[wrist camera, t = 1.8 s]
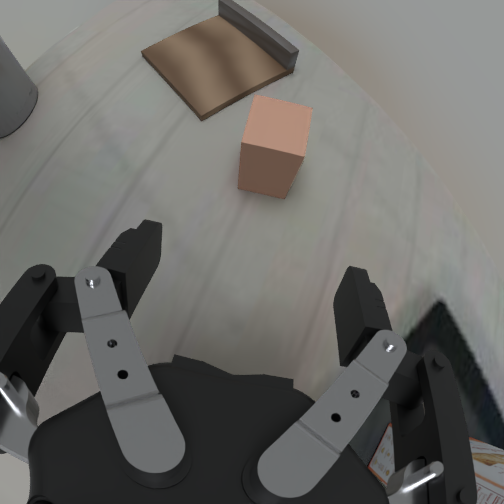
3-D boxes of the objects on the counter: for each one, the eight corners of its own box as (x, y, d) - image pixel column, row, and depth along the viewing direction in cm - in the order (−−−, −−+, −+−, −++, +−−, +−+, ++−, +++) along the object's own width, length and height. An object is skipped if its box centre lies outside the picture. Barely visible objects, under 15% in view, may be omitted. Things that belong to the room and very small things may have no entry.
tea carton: (237, 188, 31) (241, 142, 22) (248, 148, 32) (254, 94, 23) (286, 199, 31) (307, 157, 22) (294, 159, 32) (315, 108, 23)
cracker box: (470, 433, 27) (596, 476, 7) (450, 475, 26) (561, 536, 6) (388, 417, 27) (538, 497, 7) (364, 467, 26) (481, 577, 6)
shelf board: (201, 121, 32) (199, 98, 28) (142, 56, 33) (136, 35, 29) (294, 71, 34) (300, 49, 30) (226, 16, 35) (227, -4, 32)
